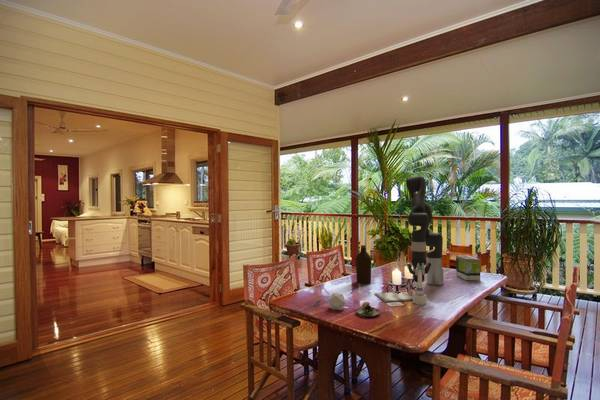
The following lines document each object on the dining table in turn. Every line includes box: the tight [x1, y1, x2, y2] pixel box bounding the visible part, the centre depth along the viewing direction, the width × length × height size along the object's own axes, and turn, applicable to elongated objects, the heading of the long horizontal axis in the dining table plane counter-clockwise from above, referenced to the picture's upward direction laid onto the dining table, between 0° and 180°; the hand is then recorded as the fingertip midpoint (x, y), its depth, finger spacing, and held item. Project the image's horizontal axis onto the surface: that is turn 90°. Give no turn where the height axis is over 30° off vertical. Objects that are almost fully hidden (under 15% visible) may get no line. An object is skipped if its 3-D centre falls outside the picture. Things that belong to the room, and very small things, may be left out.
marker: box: [415, 266, 423, 292], centre depth 176 cm, size 3×3×14 cm
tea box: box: [455, 254, 481, 281], centre depth 226 cm, size 15×10×15 cm, turn 179°
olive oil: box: [355, 244, 372, 285], centre depth 219 cm, size 11×11×25 cm
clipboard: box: [374, 291, 413, 304], centre depth 186 cm, size 20×16×1 cm
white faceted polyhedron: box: [328, 292, 347, 311], centre depth 169 cm, size 8×9×10 cm
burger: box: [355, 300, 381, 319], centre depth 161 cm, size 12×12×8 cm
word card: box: [385, 302, 405, 307], centre depth 174 cm, size 5×8×1 cm, turn 99°
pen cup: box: [412, 292, 427, 306], centre depth 176 cm, size 6×6×4 cm
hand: (418, 281), depth 176 cm, fingers closed on marker, 3 cm apart
